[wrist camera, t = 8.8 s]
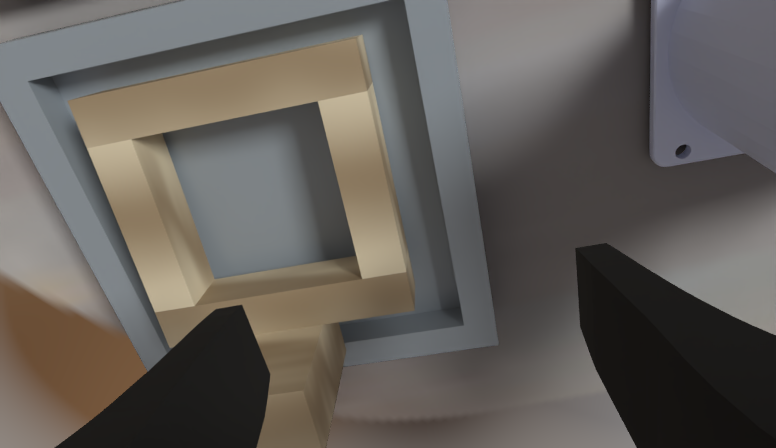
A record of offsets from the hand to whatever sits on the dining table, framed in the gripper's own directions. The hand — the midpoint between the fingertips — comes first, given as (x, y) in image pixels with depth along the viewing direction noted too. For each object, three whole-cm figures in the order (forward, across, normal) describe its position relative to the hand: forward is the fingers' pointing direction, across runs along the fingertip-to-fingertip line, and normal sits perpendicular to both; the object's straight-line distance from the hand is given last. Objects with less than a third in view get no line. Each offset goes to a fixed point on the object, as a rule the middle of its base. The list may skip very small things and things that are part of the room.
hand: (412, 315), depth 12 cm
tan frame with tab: (+8, +5, +1) cm, 10 cm away
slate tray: (+10, +5, 0) cm, 11 cm away
